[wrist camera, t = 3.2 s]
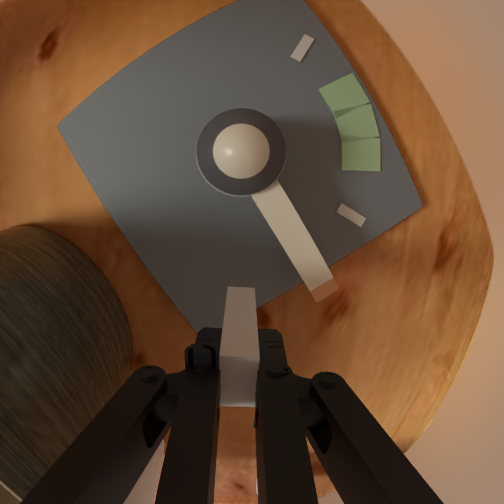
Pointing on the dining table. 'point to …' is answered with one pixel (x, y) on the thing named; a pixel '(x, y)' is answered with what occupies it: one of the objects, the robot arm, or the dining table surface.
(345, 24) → the dining table surface
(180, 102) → the dial board
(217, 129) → the peg lever
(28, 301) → the planter
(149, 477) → the potion bottle
